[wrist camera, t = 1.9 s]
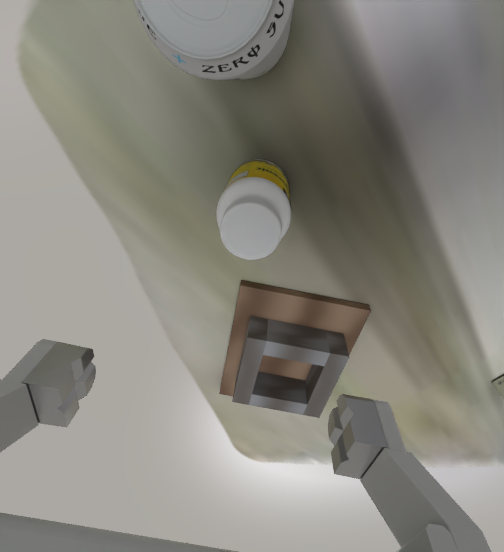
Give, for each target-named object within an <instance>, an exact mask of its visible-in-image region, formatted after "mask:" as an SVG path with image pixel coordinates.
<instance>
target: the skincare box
mask: <svg viewBox="0 0 504 552" xmlns="http://www.w3.org/2000/svg"><path fill="white" fill-rule="evenodd" d="M492 383H493V385H494V386H495V387H496V389H497V390H498V392H499V393H500V394H501V396H502V397H503V399H504V376H502V377H501V378H499V379H497V380H495V381H494V382H492Z"/></svg>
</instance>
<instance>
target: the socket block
mask: <svg viewBox="0 0 504 552" xmlns="http://www.w3.org/2000/svg"><path fill="white" fill-rule="evenodd" d="M370 312H371V309H370V307H369V305H366V304H361V303H356V302H351V301H346V300H341V299H335V298H330V297H325V296H320V295H315V294H310V293H305V292H299V291H294V290H289V289H284V288H279V287H274V286H269V285H264V284H258V283H253V282H248V281H243V280H241V285H240V290H239V295H238V301H237V306H236V311H235V316H234V321H233V326H232V332H231V337H230V342H229V347H228V352H227V358H226V363H225V368H224V373H223V378H222V383H221V389H220V394H223V395H229V396H233V401H232V402H236V403H242V404H247V405H253V406H258V407H264V408H269V409H274V410H280V411H285V412H291V413H296V414H302V415H307V416H312V417H318V418H319V417H320V415H321V413H322V411H323V409H324V407H325V405H326V403H327V401H328V399H329V397H330V395H331V393H332V391H333V389H334V387H335V385H336V383H337V381H338V379H339V377H340V375H341V373H342V371H343V369H344V367H345V365H346V363H347V361H348V359H349V355H350V352H351V350H352V348H353V346H354V344H355V342H356V340H357V338H358V336H359V334H360V332H361V330H362V328H363V326H364V324H365V322H366V320H367V318H368V316H369V314H370Z"/></svg>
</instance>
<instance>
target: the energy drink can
mask: <svg viewBox="0 0 504 552" xmlns="http://www.w3.org/2000/svg"><path fill="white" fill-rule="evenodd" d="M133 2H134V5H135V8H136V10H137V13H138V16H139V18H140V21H141V23H142V25H143V27H144V29H145V30H146V32H147V34H148V36H149V38H150V39H151V41H152V42H153V43H154V45H155V46H156V47H157V48H158V50H159V51H160V52H161V53H162V55H164V56H165V57H166V58H167V59H168V60H169V61H170V62H171V63H173V64H174V65H175V66H176V67H178V68H180V69H181V70H183V71H185V72H186V73H188V74H191V75H194V76H197V77H199V78H202V79H211V80H244V79H254V78H257V77H260V76H262V75H264V74H265V73H267V72H268V71H270V70H271V69H272V68H273V67H274V66H275V65H276V64H277V62H278V61H279V59H280V58H281V56H282V54H283V52H284V50H285V48H286V45H287V41H288V38H289V31H290V25H291V18H292V12H293V6H294V0H133Z"/></svg>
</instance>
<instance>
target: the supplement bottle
mask: <svg viewBox="0 0 504 552" xmlns="http://www.w3.org/2000/svg"><path fill="white" fill-rule="evenodd" d="M216 217H217V223H218V226H219V229H220V236H221V240H222V242H223V244H224V246H225V247H226V248H227V249H228V250H229V251H230V252H231V253H232V254H234V255H235V256H237V257H239V258H242V259H247V260H257V259H261V258H264V257H266V256H268V255H269V254H271V253H272V252H273V251H274V250H275V249H276V247H277V246H278V244H279V242H280V240H281V239H282V238H283V237H284V235H285V234H286V232H287V230H288V228H289V225H290V221H291V205H290V191H289V184H288V180H287V178H286V176H285V174H284V172H283V171H282V170H281V169H280V168H279V167H278V166H277V165H276V164H274V163H272V162H270V161H267V160H262V159H256V160H251V161H248V162H245V163H244V164H242V165H241V166H239V167H238V168H237V169H236V170H235V172H234V173H233V174H232V176H231V178H230V180H229V182H228V184H227V186H226V187H225V189H224V191H223V193H222V195H221V197H220V199H219V202H218V205H217V212H216Z"/></svg>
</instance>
